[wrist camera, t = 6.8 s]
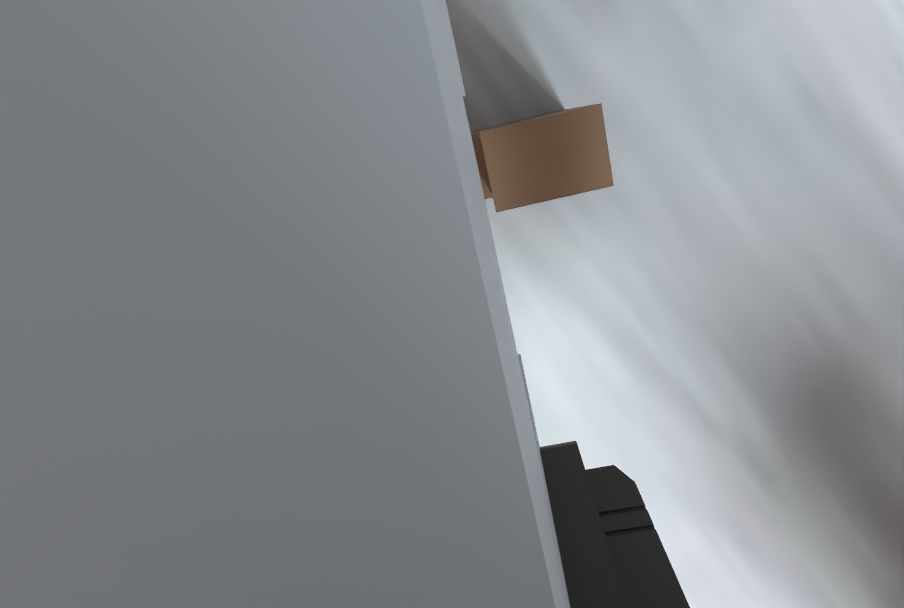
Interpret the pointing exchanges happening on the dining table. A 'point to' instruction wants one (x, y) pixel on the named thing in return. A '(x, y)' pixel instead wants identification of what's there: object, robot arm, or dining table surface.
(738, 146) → the dining table surface
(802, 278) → the dining table surface
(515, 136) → the walnut stand
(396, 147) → the blue-grey plate
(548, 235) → the dining table surface
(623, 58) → the dining table surface
